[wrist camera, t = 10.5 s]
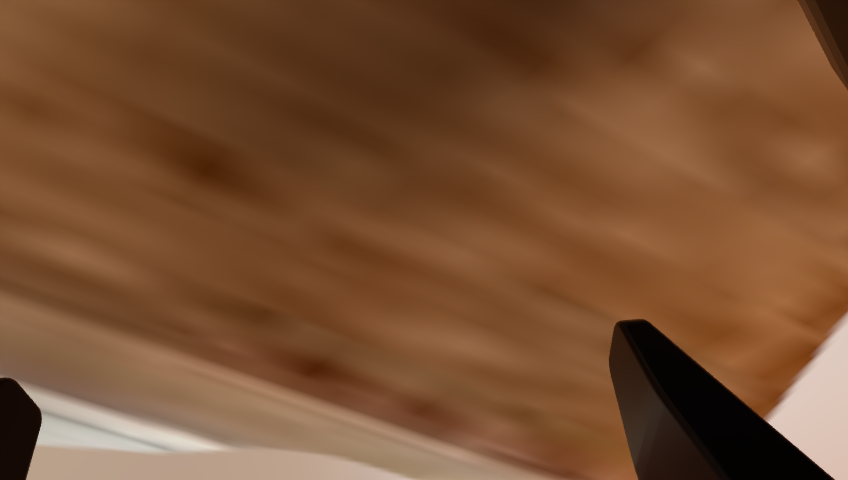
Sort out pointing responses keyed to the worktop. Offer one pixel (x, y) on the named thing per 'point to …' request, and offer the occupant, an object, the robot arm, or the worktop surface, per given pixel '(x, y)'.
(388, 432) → the worktop surface
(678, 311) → the worktop surface
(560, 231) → the worktop surface
